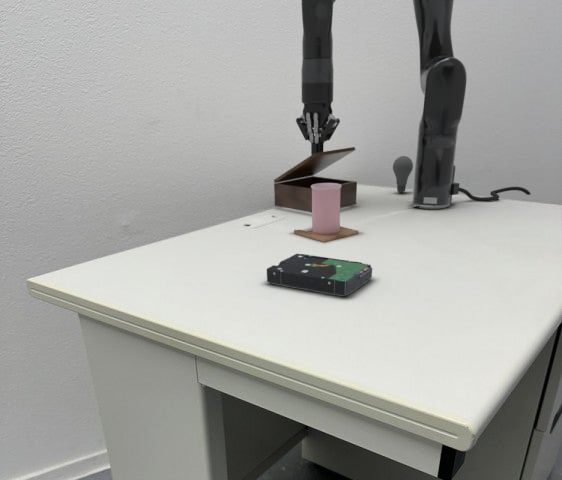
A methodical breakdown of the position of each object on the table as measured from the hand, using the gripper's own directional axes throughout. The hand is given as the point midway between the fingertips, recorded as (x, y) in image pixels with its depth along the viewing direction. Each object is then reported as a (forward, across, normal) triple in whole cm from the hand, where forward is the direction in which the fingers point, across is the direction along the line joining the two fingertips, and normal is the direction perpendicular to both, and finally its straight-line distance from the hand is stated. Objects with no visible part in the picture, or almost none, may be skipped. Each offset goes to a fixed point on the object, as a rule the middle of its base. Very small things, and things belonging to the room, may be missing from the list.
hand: (317, 159), depth 137 cm
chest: (+12, +1, 0) cm, 12 cm away
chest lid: (+2, +1, 0) cm, 2 cm away
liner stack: (+11, -19, +18) cm, 29 cm away
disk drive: (+12, -40, +42) cm, 59 cm away
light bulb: (+12, -5, -30) cm, 33 cm away
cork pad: (+12, -19, +18) cm, 29 cm away
